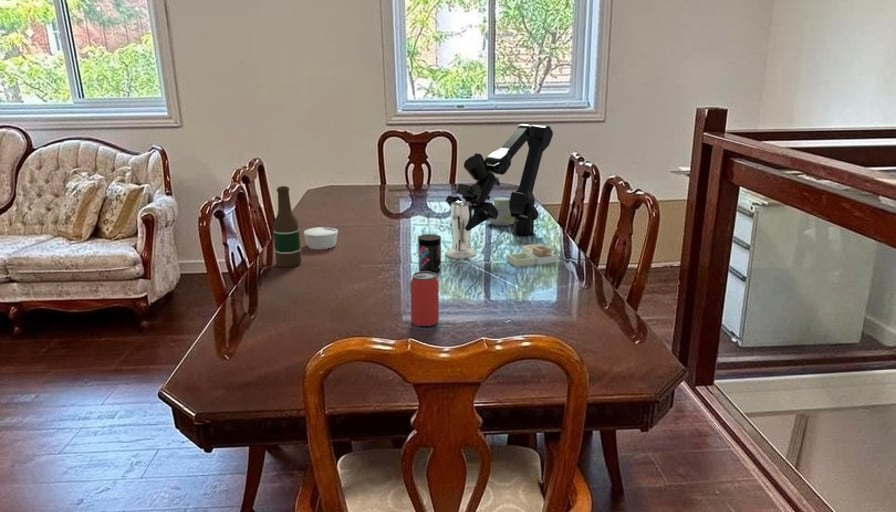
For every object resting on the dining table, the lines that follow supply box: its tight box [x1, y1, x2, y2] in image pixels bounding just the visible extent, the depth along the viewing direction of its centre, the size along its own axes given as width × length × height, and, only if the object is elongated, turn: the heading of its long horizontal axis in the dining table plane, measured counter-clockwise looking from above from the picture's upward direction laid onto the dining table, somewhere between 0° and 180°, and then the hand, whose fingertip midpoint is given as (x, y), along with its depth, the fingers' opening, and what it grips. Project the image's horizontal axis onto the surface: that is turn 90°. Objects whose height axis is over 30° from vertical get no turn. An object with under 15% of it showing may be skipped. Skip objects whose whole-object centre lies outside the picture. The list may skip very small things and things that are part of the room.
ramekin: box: [303, 226, 339, 251], centre depth 206 cm, size 11×11×5 cm
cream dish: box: [521, 243, 544, 254], centre depth 196 cm, size 6×6×2 cm
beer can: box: [409, 271, 440, 327], centre depth 144 cm, size 7×7×12 cm
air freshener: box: [487, 196, 515, 227], centre depth 232 cm, size 11×8×10 cm
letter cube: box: [533, 245, 552, 258], centre depth 189 cm, size 4×4×4 cm
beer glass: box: [450, 200, 474, 252], centre depth 195 cm, size 7×7×15 cm
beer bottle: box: [272, 185, 302, 269], centre depth 184 cm, size 8×8×24 cm
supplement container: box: [417, 233, 442, 274], centre depth 180 cm, size 7×7×10 cm
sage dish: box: [506, 252, 536, 268], centre depth 187 cm, size 6×6×2 cm
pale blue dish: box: [528, 252, 557, 266], centre depth 189 cm, size 6×6×2 cm
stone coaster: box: [445, 248, 478, 260], centre depth 197 cm, size 10×10×1 cm
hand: (458, 228), depth 194 cm, fingers closed on beer glass, 6 cm apart
